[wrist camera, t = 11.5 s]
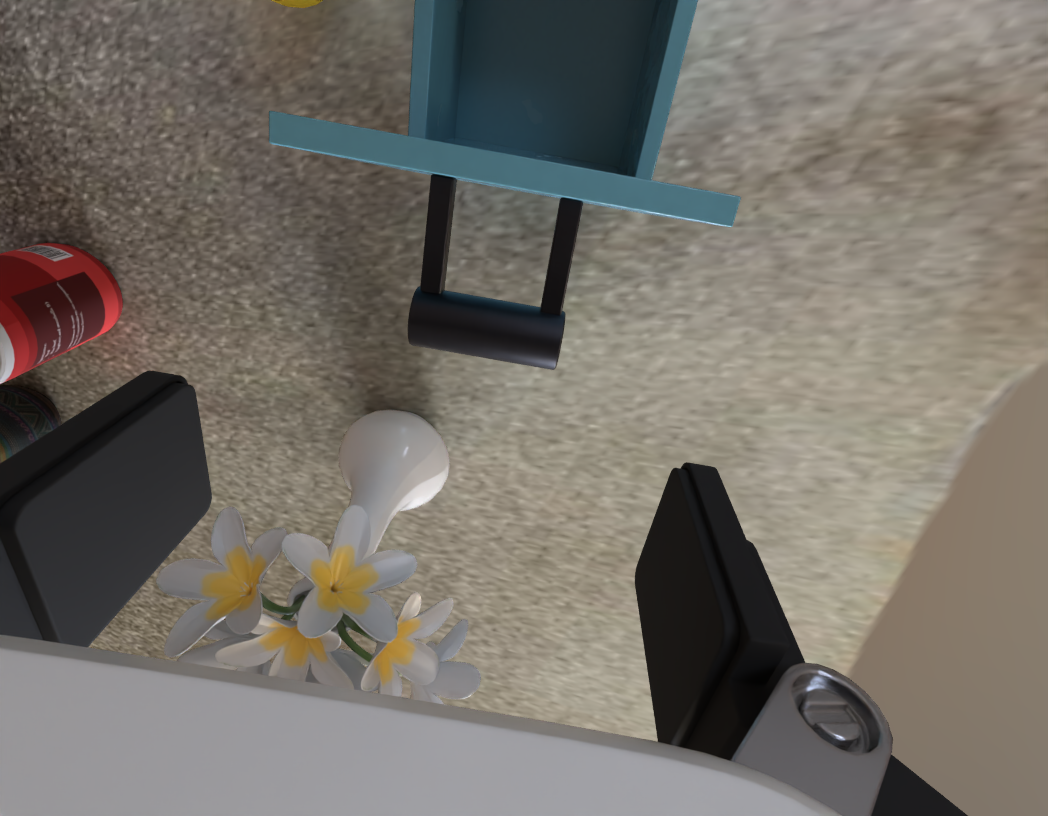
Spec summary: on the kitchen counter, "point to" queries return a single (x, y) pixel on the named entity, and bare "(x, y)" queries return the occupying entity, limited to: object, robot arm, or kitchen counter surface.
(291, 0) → the lemon
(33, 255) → the canned food
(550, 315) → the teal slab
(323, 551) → the flower vase
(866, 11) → the kitchen counter surface
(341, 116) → the kitchen counter surface
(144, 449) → the robot arm
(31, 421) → the mate gourd
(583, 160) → the teal box
